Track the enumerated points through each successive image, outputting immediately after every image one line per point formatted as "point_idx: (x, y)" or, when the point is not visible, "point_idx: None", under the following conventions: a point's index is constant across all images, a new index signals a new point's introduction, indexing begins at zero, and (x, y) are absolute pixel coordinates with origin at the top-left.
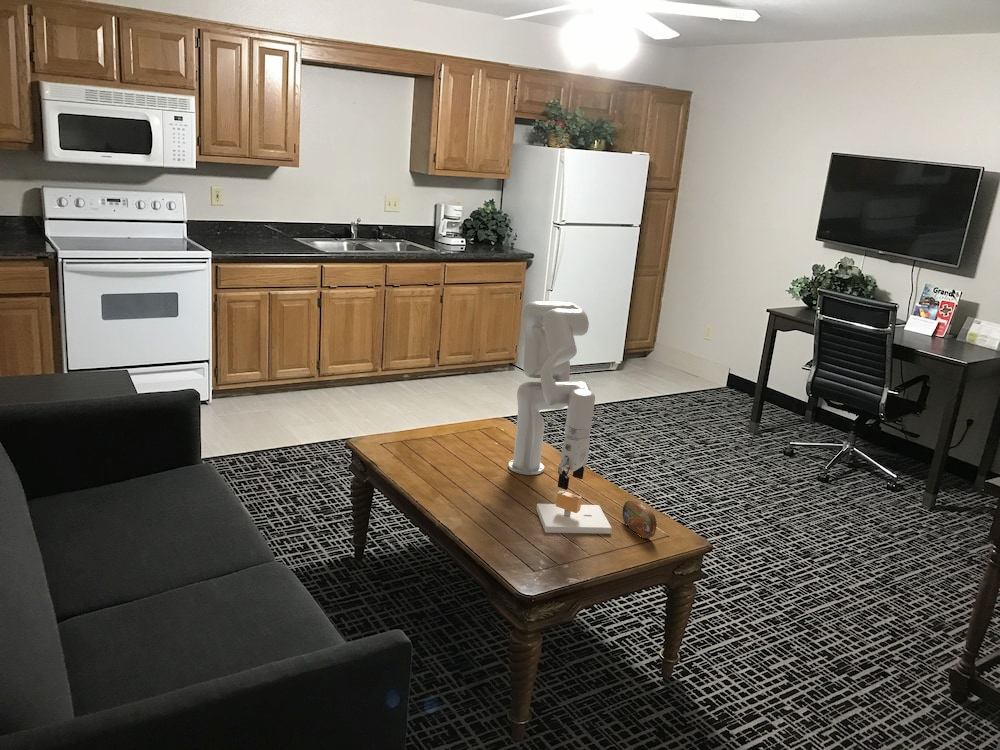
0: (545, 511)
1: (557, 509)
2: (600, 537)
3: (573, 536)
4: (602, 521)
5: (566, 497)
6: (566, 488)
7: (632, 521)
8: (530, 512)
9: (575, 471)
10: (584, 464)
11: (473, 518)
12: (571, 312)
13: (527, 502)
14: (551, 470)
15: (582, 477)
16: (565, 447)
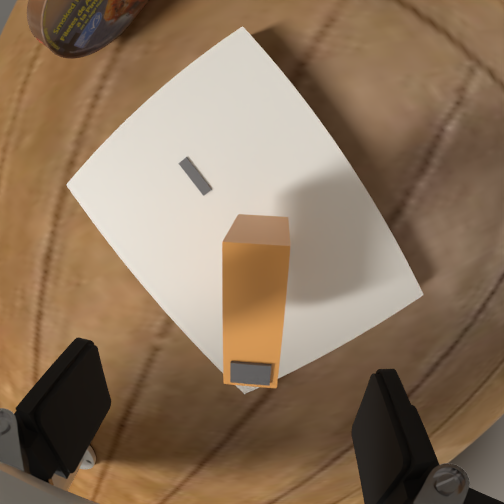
0: (290, 350)
1: None
2: (314, 60)
3: (384, 169)
4: (205, 87)
5: (282, 328)
6: (396, 378)
7: None
8: (283, 383)
9: (87, 425)
10: (48, 497)
11: None
12: None
13: (217, 410)
14: (15, 389)
15: (77, 344)
16: None
